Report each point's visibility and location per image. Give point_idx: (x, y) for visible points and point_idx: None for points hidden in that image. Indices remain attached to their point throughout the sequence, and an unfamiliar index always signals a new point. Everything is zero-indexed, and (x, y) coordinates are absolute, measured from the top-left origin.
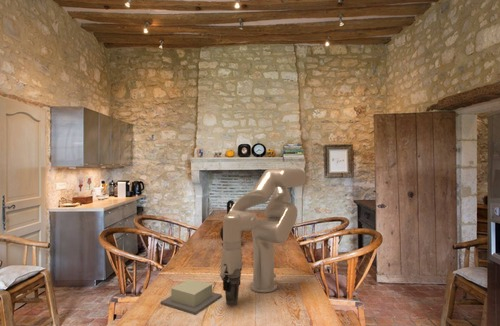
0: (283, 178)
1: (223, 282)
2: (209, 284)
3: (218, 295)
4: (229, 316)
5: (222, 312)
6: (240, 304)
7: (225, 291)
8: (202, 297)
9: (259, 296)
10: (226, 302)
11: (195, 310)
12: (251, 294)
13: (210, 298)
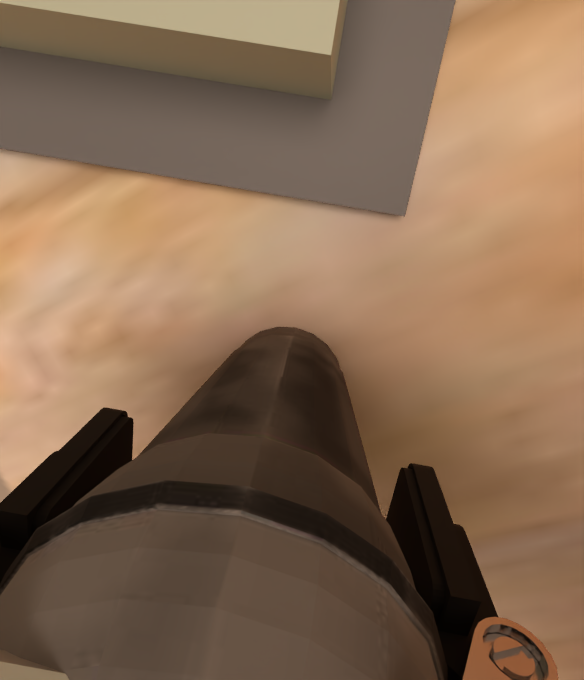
0: None
1: (28, 488)
2: (296, 2)
3: (366, 183)
4: (59, 441)
5: (87, 363)
6: None
7: (203, 387)
8: (88, 48)
9: (517, 562)
10: (255, 337)
11: None
12: (548, 490)
13: (246, 122)
